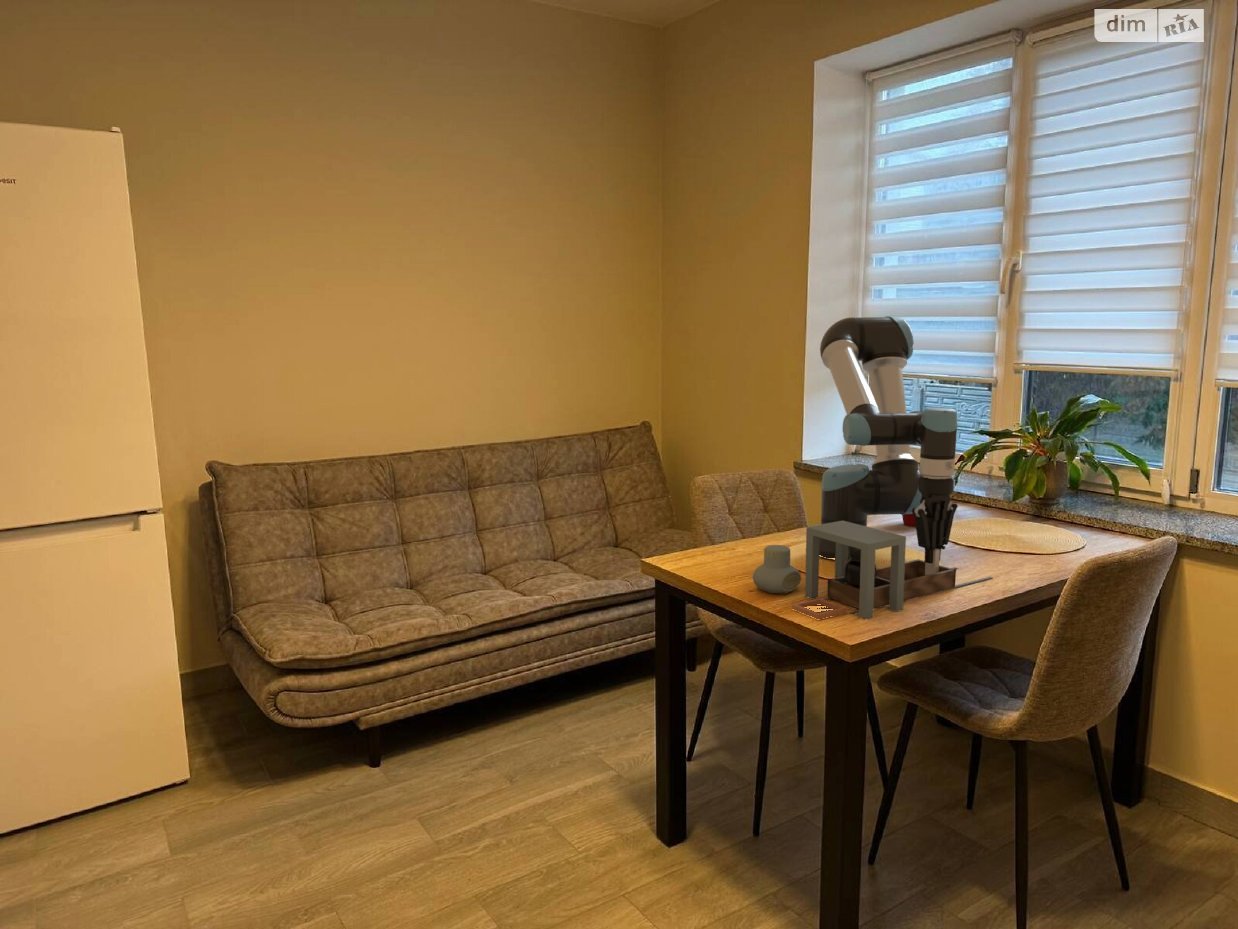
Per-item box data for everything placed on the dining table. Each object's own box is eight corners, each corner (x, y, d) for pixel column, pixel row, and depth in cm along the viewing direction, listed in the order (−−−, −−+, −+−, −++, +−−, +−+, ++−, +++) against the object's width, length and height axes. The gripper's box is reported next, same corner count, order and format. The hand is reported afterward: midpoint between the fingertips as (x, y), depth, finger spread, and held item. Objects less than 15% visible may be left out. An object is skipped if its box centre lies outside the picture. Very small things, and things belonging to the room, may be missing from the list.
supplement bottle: (874, 607, 186) (876, 553, 184) (841, 605, 188) (843, 551, 186) (875, 598, 192) (877, 545, 190) (843, 595, 194) (845, 543, 192)
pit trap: (791, 609, 185) (791, 604, 185) (819, 603, 189) (819, 597, 189) (818, 620, 179) (818, 615, 178) (846, 613, 183) (846, 607, 182)
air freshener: (776, 581, 206) (777, 540, 204) (805, 589, 200) (806, 546, 198) (747, 591, 198) (747, 549, 197) (776, 599, 192) (777, 555, 191)
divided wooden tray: (917, 575, 207) (918, 559, 207) (955, 586, 198) (955, 569, 198) (827, 597, 192) (827, 579, 192) (863, 610, 183) (864, 591, 183)
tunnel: (942, 564, 217) (945, 502, 215) (1006, 582, 202) (1010, 515, 199) (805, 596, 194) (806, 527, 191) (866, 619, 179) (868, 544, 176)
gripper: (930, 481, 191) (925, 584, 195) (969, 475, 198) (963, 575, 202) (903, 476, 198) (899, 576, 202) (942, 470, 204) (937, 567, 208)
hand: (931, 575), depth 202 cm, fingers closed
